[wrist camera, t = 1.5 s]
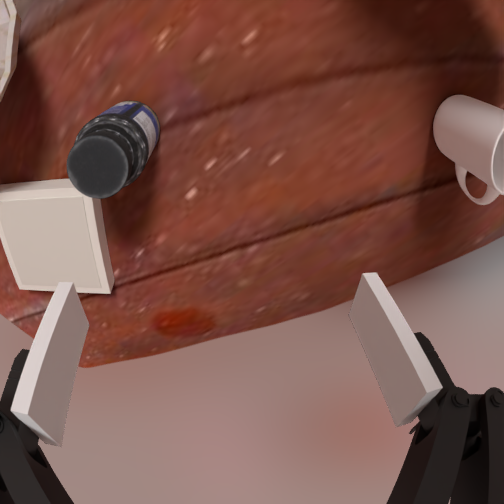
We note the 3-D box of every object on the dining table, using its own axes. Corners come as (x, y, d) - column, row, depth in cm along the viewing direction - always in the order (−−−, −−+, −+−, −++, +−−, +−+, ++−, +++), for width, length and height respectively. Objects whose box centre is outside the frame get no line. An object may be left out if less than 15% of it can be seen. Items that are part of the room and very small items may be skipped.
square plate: (-2, 184, 28) (-13, 194, 26) (97, 177, 30) (89, 187, 28) (26, 277, 36) (19, 289, 34) (114, 280, 38) (110, 294, 36)
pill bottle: (95, 148, 28) (50, 194, 19) (113, 92, 25) (66, 114, 16) (149, 166, 30) (125, 219, 21) (171, 110, 27) (151, 140, 19)
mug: (422, 181, 35) (474, 226, 26) (433, 88, 28) (499, 112, 19) (468, 181, 36) (519, 221, 27) (481, 98, 29) (542, 124, 20)
